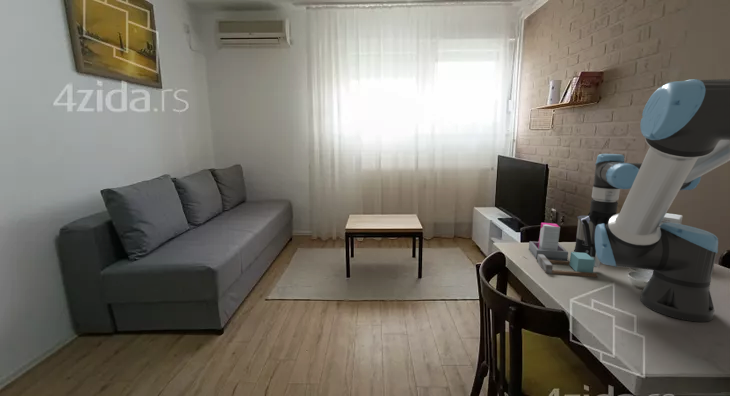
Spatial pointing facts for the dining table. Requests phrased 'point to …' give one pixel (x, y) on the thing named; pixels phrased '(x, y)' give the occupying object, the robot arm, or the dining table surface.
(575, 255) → the block
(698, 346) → the dining table surface
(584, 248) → the milk frother
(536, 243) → the tray
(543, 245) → the supplement box
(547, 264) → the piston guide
